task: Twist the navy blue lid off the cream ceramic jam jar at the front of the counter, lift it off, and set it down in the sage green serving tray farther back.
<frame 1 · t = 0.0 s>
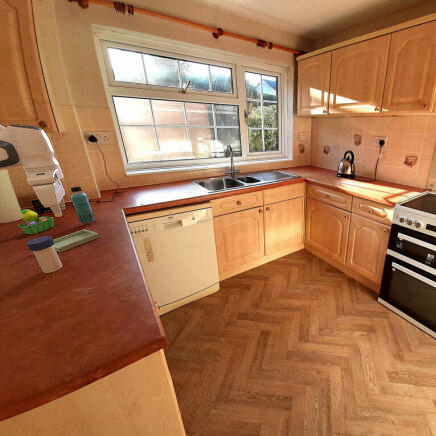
hand: (61, 212, 89), 19 cm above the countertop, tool pointing down, fingers open, 8 cm apart
jar lid: (39, 240, 84), point 11 cm above the countertop, screwed on, not yet turned
beverage bottle: (89, 224, 129), on the countertop
fruit basket: (39, 230, 123), on the countertop
jam jar: (52, 268, 89), on the countertop
serving tray: (73, 241, 109), on the countertop
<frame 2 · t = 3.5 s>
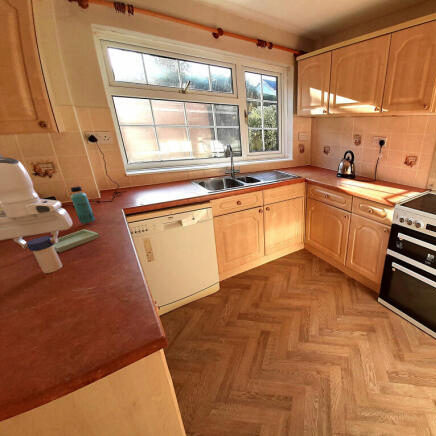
hand: (41, 245, 85), 10 cm above the countertop, tool pointing down, fingers closed on jar lid, 6 cm apart
jar lid: (39, 240, 84), point 11 cm above the countertop, screwed on, not yet turned, touching gripper
everything else where it was.
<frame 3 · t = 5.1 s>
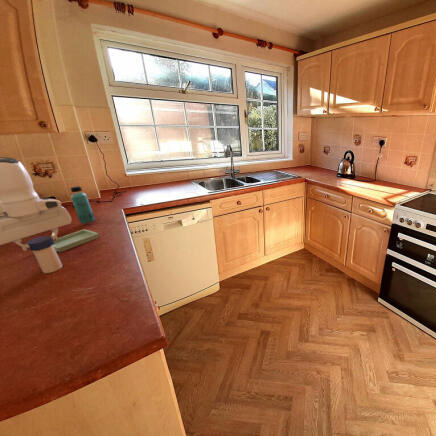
hand: (41, 244, 85), 10 cm above the countertop, tool pointing down, fingers closed on jar lid, 6 cm apart
jar lid: (39, 240, 84), point 12 cm above the countertop, turned 39° so far, risen 0.1 cm, still on its thread, touching gripper
everything else where it was.
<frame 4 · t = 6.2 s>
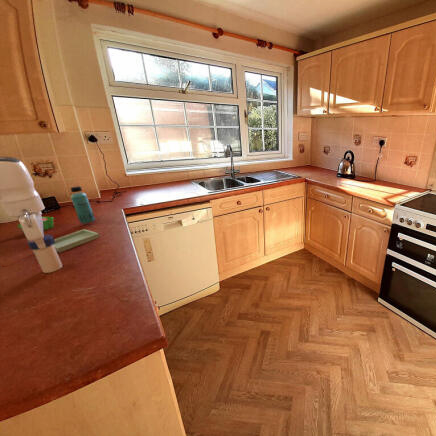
hand: (42, 244, 85), 10 cm above the countertop, tool pointing down, fingers closed on jar lid, 6 cm apart
jar lid: (40, 239, 85), point 12 cm above the countertop, off its thread, touching gripper
everything else where it was.
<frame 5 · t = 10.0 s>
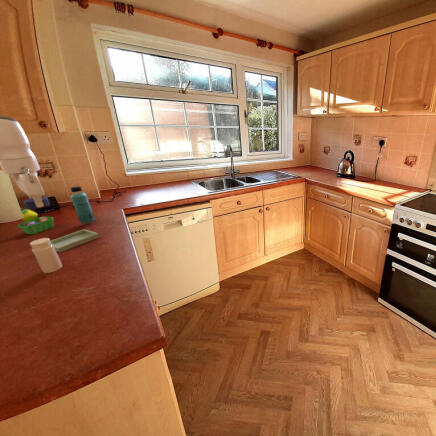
hand: (38, 204, 88), 22 cm above the countertop, tool pointing down, fingers closed on jar lid, 6 cm apart
jar lid: (36, 200, 87), point 24 cm above the countertop, off its thread, touching gripper
everything else where it was.
when the fingers open (1 cm above the countertop, at t = 16.4 s): jar lid stays where it is, resting on serving tray.
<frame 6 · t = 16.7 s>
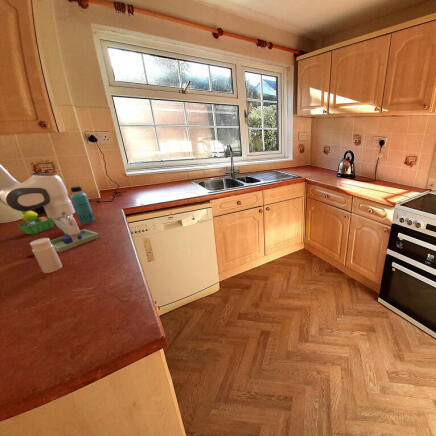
hand: (72, 239, 109), 1 cm above the countertop, tool pointing down, fingers open, 8 cm apart
jar lid: (71, 236, 108), point 3 cm above the countertop, off its thread, touching serving tray
everything else where it was.
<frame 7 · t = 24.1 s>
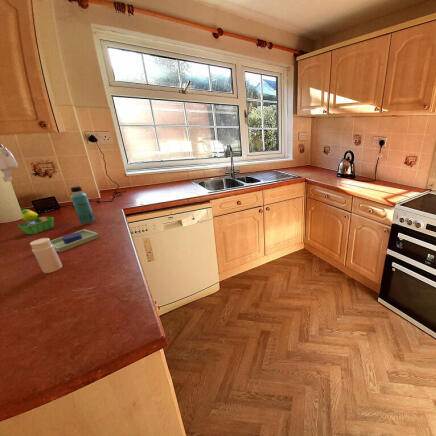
nothing on the countertop moved.
at the end: jar lid came off its thread; jar lid inside the target area on the serving tray (0.2 cm from its centre), point 2.8 cm above the serving tray's base; the gripper is holding nothing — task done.
